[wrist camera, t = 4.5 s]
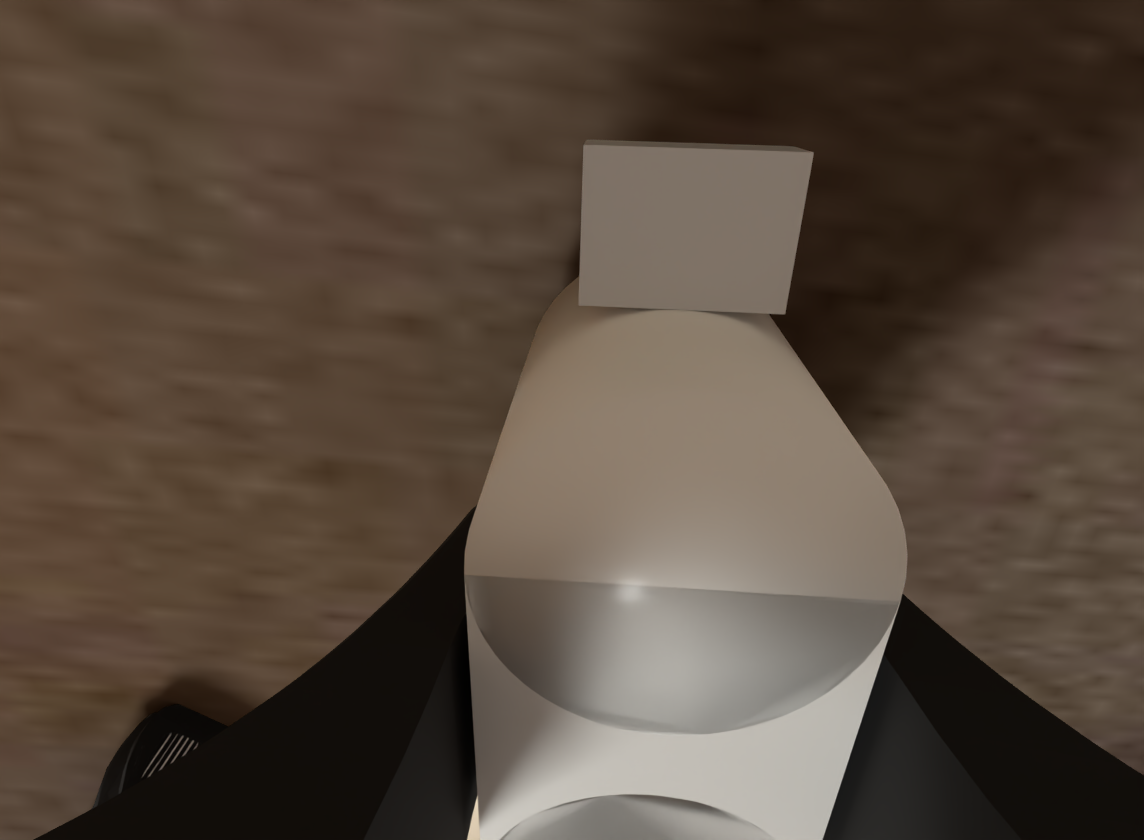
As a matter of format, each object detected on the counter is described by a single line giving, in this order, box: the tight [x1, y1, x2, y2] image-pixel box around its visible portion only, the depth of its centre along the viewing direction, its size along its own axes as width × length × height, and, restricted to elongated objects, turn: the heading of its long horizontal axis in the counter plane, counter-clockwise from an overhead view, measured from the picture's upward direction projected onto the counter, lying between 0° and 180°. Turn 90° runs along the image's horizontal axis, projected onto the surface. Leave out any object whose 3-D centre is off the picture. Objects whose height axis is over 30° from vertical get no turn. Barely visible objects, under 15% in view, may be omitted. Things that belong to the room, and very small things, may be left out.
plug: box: [464, 140, 908, 840], centre depth 9 cm, size 11×4×5 cm, turn 178°
